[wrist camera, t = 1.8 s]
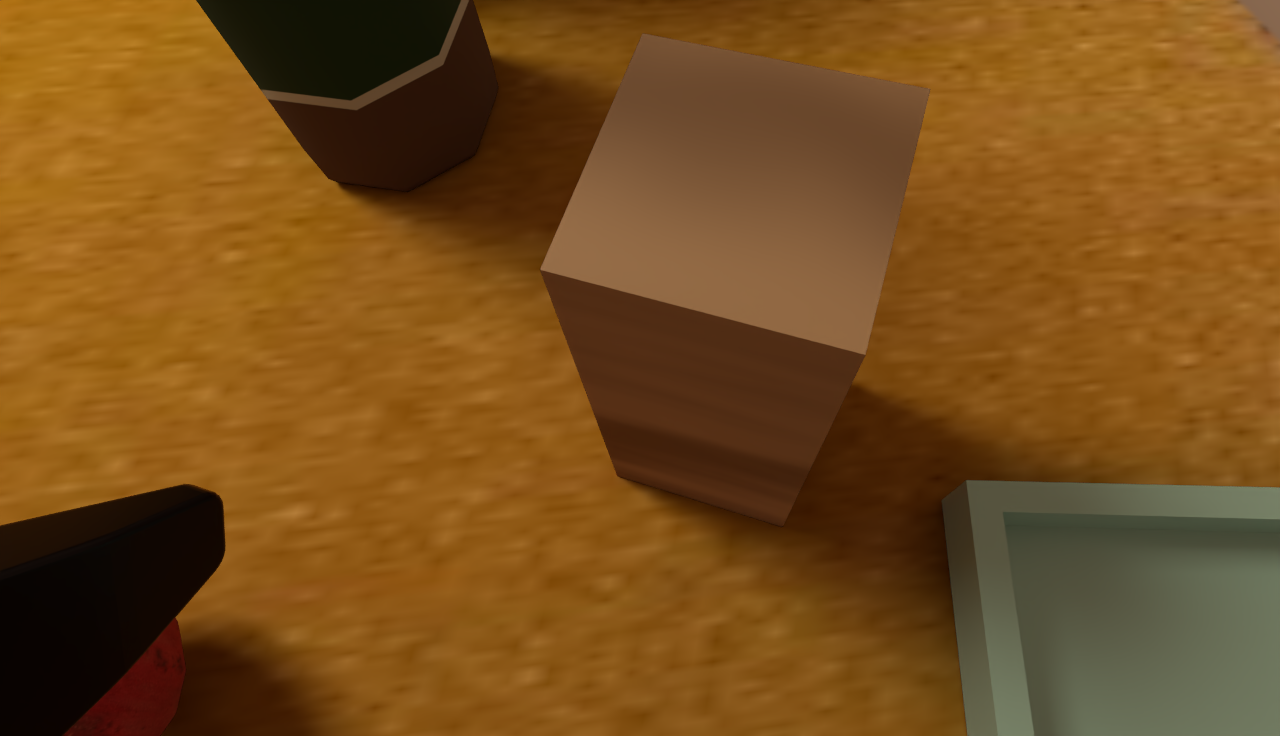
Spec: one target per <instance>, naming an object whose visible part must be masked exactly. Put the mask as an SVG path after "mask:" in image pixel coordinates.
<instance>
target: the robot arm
mask: <svg viewBox="0 0 1280 736" xmlns="http://www.w3.org/2000/svg"><path fill="white" fill-rule="evenodd" d="M224 553H225V529H224V510H223V502H222V500H221V498H220V496H219V495H217V494H216V493H215V492H212V491H209V490H206V489H203V488H201V487H198V486H195V485H190V484H183V485H178V486H174V487H169V488H165V489H160V490H156V491H151V492H147V493H143V494H138V495H134V496H129V497H125V498H120V499H116V500H111V501H107V502H103V503H98V504H94V505H89V506H85V507H80V508H76V509H72V510H67V511H63V512H58V513H54V514H49V515H45V516H41V517H36V518H32V519H27V520H23V521H18V522H14V523H9V524H5V525H1V526H0V736H63V735H64V734H65V733H66V732H67V731H68V730H69V729H70V728H71V727H72V726H73V725H74V724H75V723H76V722H78V721H79V720H80V719H81V718H82V717H83V716H84V715H85V714H86V713H87V712H88V711H89V710H90V709H91V708H92V707H93V706H94V705H95V704H96V703H97V702H98V701H99V700H100V699H101V698H102V697H103V696H104V695H105V694H106V693H107V692H108V691H109V690H110V689H111V688H112V687H113V686H114V685H115V684H116V683H117V682H118V681H119V680H120V679H121V678H122V677H123V676H124V675H125V674H126V673H127V672H128V671H129V670H130V669H131V668H132V666H133V665H134V664H135V663H136V662H137V661H138V660H139V659H140V658H141V657H142V655H143V654H144V653H145V652H146V651H147V650H148V649H149V647H150V646H151V645H152V644H153V643H154V642H155V640H156V639H157V638H158V637H159V636H160V635H161V633H162V632H163V631H164V630H165V629H166V628H167V626H168V625H169V624H170V623H171V622H172V621H173V620H174V618H175V617H176V616H177V615H178V614H179V613H180V611H181V610H182V609H183V608H184V607H185V606H186V604H187V603H188V602H189V601H190V600H191V599H192V598H193V596H194V595H195V594H196V593H197V592H198V591H199V589H200V588H201V587H202V586H203V585H204V584H205V582H206V581H207V580H208V579H209V578H210V577H211V576H212V574H213V573H214V572H215V571H216V570H217V568H218V567H219V565H220V563H221V562H222V559H223V557H224Z"/></svg>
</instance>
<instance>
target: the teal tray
mask: <svg viewBox="0 0 1280 736" xmlns="http://www.w3.org/2000/svg"><path fill="white" fill-rule="evenodd" d="M942 509H943V518H944V527H945V536H946V545H947V554H948V563H949V572H950V581H951V590H952V600H953V609H954V618H955V627H956V636H957V645H958V654H959V663H960V672H961V681H962V690H963V699H964V708H965V717H966V726H967V735H968V736H1280V488H1275V487H1233V486H1191V485H1149V484H1107V483H1065V482H1023V481H981V480H966V481H964V482H963V483H962V484H961V485H960V486H958V487H957V488H956V489H955V490H953V491H952V492H951V493H950V494H948V495H947V496H946V497H945V498H944V499H942Z"/></svg>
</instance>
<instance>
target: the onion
mask: <svg viewBox="0 0 1280 736" xmlns="http://www.w3.org/2000/svg"><path fill="white" fill-rule="evenodd" d="M185 673H186V665H185V659H184V654H183V648H182V642H181V636H180V630H179V625H178V621H177V620H176V618H174V620H173V621H172V622H171V623H170V624H169V625H168V626H167V628H166V629H165V630H164V631H163V632H162V633H161V635H160V636H159V637H158V638H157V639H156V640H155V642H154V643H153V644H152V645H151V646H150V647H149V649H148V650H147V651H146V652H145V653H144V654H143V655H142V657H141V658H140V659H139V660H138V661H137V662H136V663H135V664H134V665H133V666H132V668H131V669H130V670H129V671H128V672H127V673H126V674H125V675H124V676H123V677H122V678H121V679H120V680H119V681H118V682H117V683H116V684H115V685H114V686H113V687H112V688H111V689H110V690H109V691H108V692H107V693H106V694H105V695H104V696H103V697H102V698H101V699H100V700H99V701H98V702H97V703H96V704H95V705H94V706H93V707H92V708H91V709H90V710H89V711H88V712H87V713H86V714H85V715H84V716H83V717H82V718H81V719H80V720H79V721H78V722H76V723H75V724H74V725H73V726H72V727H71V728H70V729H69V730H68V731H67V732H66V733H65V734H64V735H63V736H161V734H162V733H163V731H164V730H165V729H166V727H167V726H168V724H169V723H170V721H171V720H172V719H173V717H174V716H175V714H176V711H177V707H178V703H179V699H180V694H181V690H182V686H183V682H184V677H185Z"/></svg>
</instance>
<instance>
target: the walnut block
mask: <svg viewBox="0 0 1280 736" xmlns="http://www.w3.org/2000/svg"><path fill="white" fill-rule="evenodd" d="M929 93H930V89H928V88H922V87H917V86H912V85H907V84H902V83H897V82H891V81H886V80H881V79H876V78H871V77H866V76H860V75H855V74H850V73H845V72H840V71H835V70H829V69H824V68H819V67H814V66H809V65H804V64H798V63H793V62H788V61H783V60H778V59H773V58H767V57H762V56H757V55H752V54H747V53H742V52H736V51H731V50H726V49H721V48H716V47H711V46H705V45H700V44H695V43H690V42H685V41H680V40H674V39H669V38H664V37H659V36H654V35H649V34H642V36H641V38H640V41H639V43H638V45H637V48H636V50H635V52H634V54H633V57H632V59H631V61H630V64H629V66H628V68H627V71H626V73H625V75H624V78H623V80H622V82H621V84H620V87H619V89H618V91H617V94H616V96H615V98H614V101H613V103H612V105H611V107H610V110H609V112H608V114H607V117H606V119H605V121H604V124H603V126H602V128H601V130H600V133H599V135H598V137H597V140H596V142H595V144H594V147H593V149H592V151H591V153H590V156H589V158H588V160H587V163H586V165H585V167H584V170H583V172H582V174H581V177H580V179H579V181H578V183H577V186H576V188H575V190H574V193H573V195H572V197H571V200H570V202H569V204H568V206H567V209H566V211H565V213H564V216H563V218H562V220H561V223H560V225H559V227H558V229H557V232H556V234H555V236H554V239H553V241H552V243H551V246H550V248H549V250H548V252H547V255H546V257H545V259H544V262H543V264H542V266H541V269H540V271H541V274H542V276H543V279H544V282H545V284H546V287H547V290H548V292H549V295H550V298H551V300H552V303H553V306H554V308H555V311H556V314H557V316H558V319H559V322H560V324H561V327H562V330H563V332H564V335H565V338H566V340H567V343H568V346H569V348H570V351H571V354H572V356H573V359H574V362H575V364H576V367H577V370H578V372H579V375H580V378H581V380H582V383H583V386H584V388H585V391H586V394H587V396H588V399H589V402H590V404H591V407H592V410H593V412H594V415H595V418H596V420H597V423H598V426H599V428H600V431H601V434H602V436H603V439H604V442H605V444H606V447H607V450H608V452H609V455H610V458H611V460H612V463H613V466H614V468H615V471H616V474H617V476H619V477H622V478H626V479H629V480H632V481H635V482H639V483H642V484H645V485H648V486H651V487H655V488H658V489H661V490H664V491H668V492H671V493H674V494H677V495H681V496H684V497H687V498H690V499H693V500H697V501H700V502H703V503H706V504H710V505H713V506H716V507H719V508H722V509H726V510H729V511H732V512H735V513H739V514H742V515H745V516H748V517H751V518H755V519H758V520H761V521H764V522H768V523H771V524H774V525H777V526H780V527H783V525H784V523H785V521H786V519H787V517H788V515H789V513H790V511H791V508H792V506H793V504H794V502H795V500H796V498H797V496H798V494H799V492H800V490H801V488H802V486H803V484H804V481H805V479H806V477H807V475H808V473H809V471H810V469H811V467H812V465H813V463H814V461H815V459H816V457H817V454H818V452H819V450H820V448H821V446H822V444H823V442H824V440H825V438H826V436H827V434H828V432H829V430H830V427H831V425H832V423H833V421H834V419H835V417H836V415H837V413H838V411H839V409H840V407H841V405H842V403H843V400H844V398H845V396H846V394H847V392H848V390H849V388H850V386H851V384H852V382H853V380H854V378H855V376H856V373H857V371H858V369H859V367H860V365H861V363H862V361H863V359H864V357H865V355H866V351H867V346H868V342H869V338H870V334H871V330H872V326H873V322H874V318H875V314H876V310H877V306H878V301H879V297H880V293H881V289H882V285H883V281H884V277H885V273H886V269H887V265H888V260H889V256H890V252H891V248H892V244H893V240H894V236H895V232H896V228H897V224H898V220H899V215H900V211H901V207H902V203H903V199H904V195H905V191H906V187H907V183H908V179H909V175H910V170H911V166H912V162H913V158H914V154H915V150H916V146H917V142H918V138H919V134H920V129H921V125H922V121H923V117H924V113H925V109H926V105H927V101H928V97H929Z"/></svg>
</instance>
